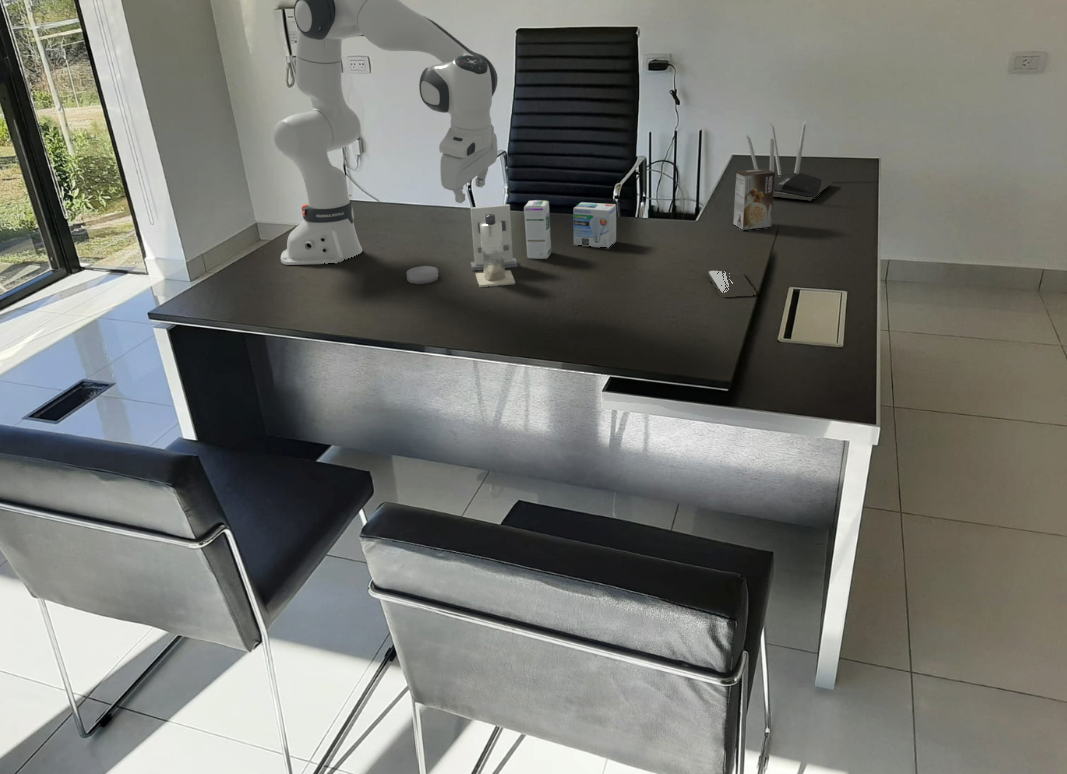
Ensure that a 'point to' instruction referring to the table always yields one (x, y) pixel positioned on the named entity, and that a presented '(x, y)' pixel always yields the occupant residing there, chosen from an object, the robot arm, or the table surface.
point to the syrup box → (537, 229)
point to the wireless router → (790, 182)
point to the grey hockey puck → (422, 274)
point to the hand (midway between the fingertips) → (470, 193)
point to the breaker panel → (504, 216)
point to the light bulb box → (595, 224)
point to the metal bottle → (492, 248)
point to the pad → (486, 283)
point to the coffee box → (754, 198)
